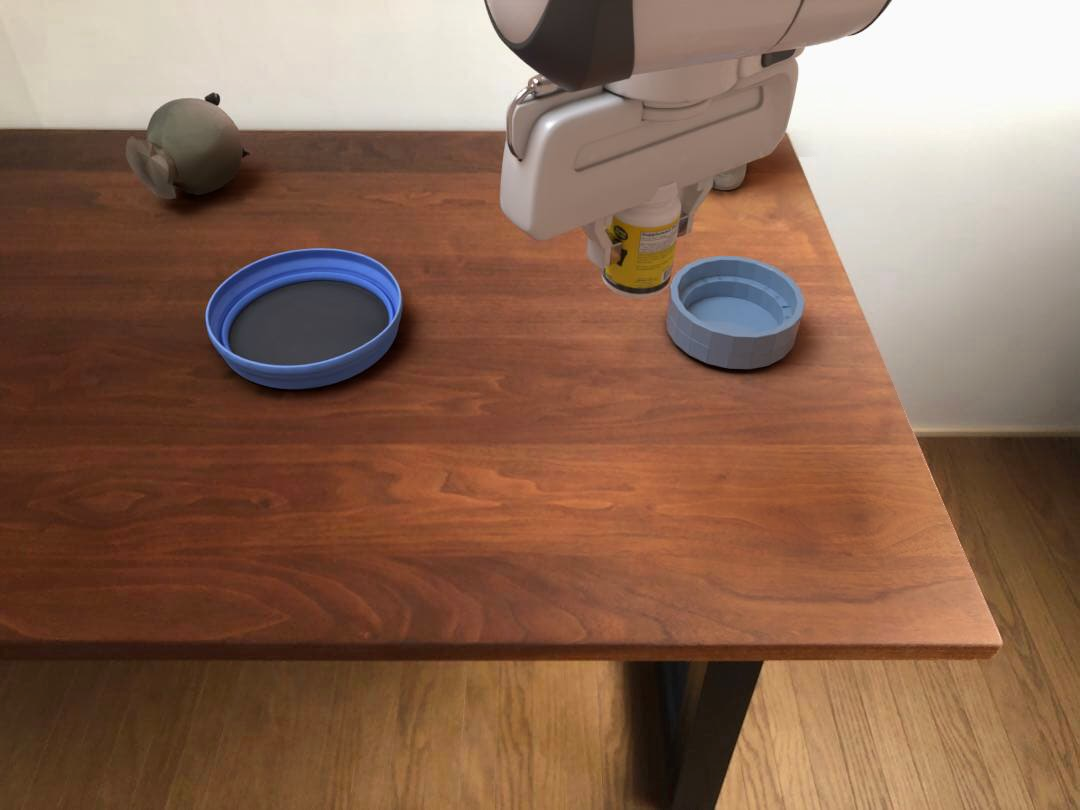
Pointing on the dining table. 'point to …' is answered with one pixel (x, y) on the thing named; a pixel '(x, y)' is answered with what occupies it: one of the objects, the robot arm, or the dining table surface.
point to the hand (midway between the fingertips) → (640, 246)
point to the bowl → (305, 317)
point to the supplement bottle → (645, 245)
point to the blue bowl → (734, 312)
